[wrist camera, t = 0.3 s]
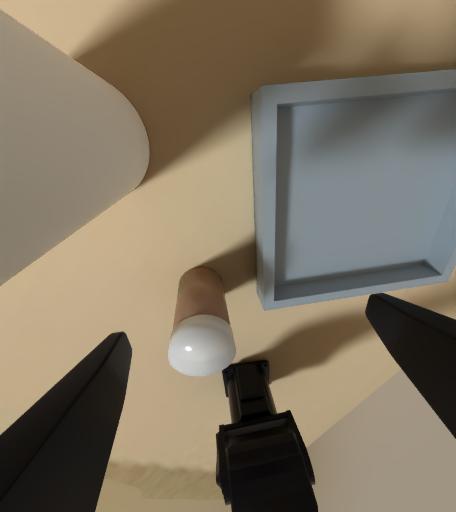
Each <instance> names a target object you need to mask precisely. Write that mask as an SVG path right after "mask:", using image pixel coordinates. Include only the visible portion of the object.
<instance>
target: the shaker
mask: <svg viewBox="0 0 456 512" xmlns="http://www.w3.org/2000/svg"><path fill="white" fill-rule="evenodd" d="M235 354H236V348H235V342H234V337H233V332H232V329H231V327H230V322H229V316H228V311H227V305H226V299H225V294H224V288H223V283H222V279H221V277H220V275H219V274H218V273H217V272H216V271H214V270H213V269H210V268H207V267H196V268H193V269H190V270H188V271H187V272H185V273H184V274H183V276H182V277H181V279H180V281H179V288H178V295H177V303H176V310H175V318H174V325H173V331H172V333H171V337H170V344H169V352H168V359H169V362H170V364H171V366H172V367H173V368H174V369H176V370H177V371H179V372H180V373H183V374H186V375H190V376H208V375H212V374H215V373H218V372H220V371H222V370H223V369H225V368H226V367H228V366H229V365H230V364H231V362H232V361H233V359H234V357H235Z"/></svg>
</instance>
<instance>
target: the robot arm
mask: <svg viewBox="0 0 456 512" xmlns="http://www.w3.org/2000/svg"><path fill="white" fill-rule="evenodd" d="M365 313H366V317H367V319H368V320H369V322H370V323H371V325H372V326H373V328H374V330H375V331H376V333H377V334H378V336H379V337H380V339H381V340H382V342H383V344H384V345H385V347H386V348H387V350H388V351H389V353H390V354H391V356H392V357H393V358H394V360H395V361H396V362H397V364H398V365H399V366H400V367H401V369H402V370H403V371H404V373H405V374H406V375H407V377H408V378H409V379H410V380H411V382H412V383H413V384H414V386H415V387H416V388H417V389H418V391H419V392H420V393H421V395H422V396H423V397H424V398H425V400H426V401H427V402H428V404H429V405H430V406H431V408H432V409H433V410H434V411H435V413H436V414H437V415H438V417H439V418H440V419H441V420H442V422H443V423H444V424H445V426H446V427H447V428H448V429H449V431H450V432H451V433H452V435H453V436H454V437H455V439H456V320H455V319H452V318H450V317H447V316H444V315H442V314H439V313H436V312H433V311H431V310H428V309H425V308H423V307H420V306H417V305H414V304H412V303H409V302H406V301H404V300H401V299H398V298H395V297H393V296H390V295H387V294H385V293H376V294H372V295H370V296H369V299H368V303H367V307H366V311H365ZM131 358H132V348H131V345H130V343H129V340H128V338H127V335H126V333H125V332H116V333H112V334H110V335H109V336H108V337H107V338H106V339H104V340H103V341H102V342H101V343H100V344H99V345H98V346H97V347H96V348H95V349H94V350H92V351H91V352H90V353H89V354H88V355H87V356H86V357H85V358H84V359H83V360H82V361H81V362H79V363H78V364H77V365H76V366H75V367H74V368H73V369H72V370H71V371H70V372H69V373H67V374H66V375H65V376H64V377H63V378H62V379H61V380H60V381H59V382H58V383H57V384H55V385H54V386H53V387H52V388H51V389H50V390H49V391H48V392H47V393H46V394H45V395H43V396H42V397H41V398H40V399H39V400H38V401H37V402H36V403H35V404H34V405H33V406H32V407H30V408H29V409H28V410H27V411H26V412H25V413H24V414H23V415H22V416H21V417H20V418H18V419H17V420H16V421H15V422H14V423H13V424H12V425H11V426H10V427H9V428H8V429H6V430H5V431H4V432H3V433H2V434H1V435H0V512H95V510H96V506H97V502H98V498H99V495H100V491H101V487H102V483H103V479H104V476H105V472H106V469H107V465H108V461H109V457H110V454H111V450H112V446H113V442H114V439H115V435H116V431H117V427H118V424H119V420H120V416H121V412H122V408H123V404H124V400H125V395H126V389H127V383H128V376H129V370H130V364H131ZM222 374H223V380H224V386H225V393H226V397H229V405H230V413H231V421H232V424H228V425H224V424H223V425H219V432H218V433H217V434H216V442H217V463H216V483H217V485H218V486H219V487H220V488H221V489H222V494H223V495H224V500H225V504H226V505H230V504H231V508H232V512H318V506H317V502H316V499H315V495H314V492H313V489H312V485H314V484H315V477H314V473H313V469H312V465H311V462H310V458H309V456H308V452H307V449H306V447H305V444H304V442H303V439H302V437H301V435H300V432H299V430H298V428H297V425H296V423H295V420H294V418H293V416H292V413H291V411H290V410H287V411H286V412H283V413H278V414H277V411H276V408H275V404H274V401H273V397H272V394H271V391H270V387H269V363H268V361H267V360H264V361H258V362H252V363H246V364H241V365H235V366H229V367H226V368H225V369H223V370H222Z"/></svg>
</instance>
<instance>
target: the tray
mask: <svg viewBox="0 0 456 512" xmlns="http://www.w3.org/2000/svg"><path fill="white" fill-rule="evenodd" d="M251 123H252V154H253V186H254V218H255V249H256V281H257V294H258V297H259V299H260V302H261V304H262V307H263V309H264V311H265V310H272V309H278V308H284V307H291V306H297V305H303V304H310V303H316V302H322V301H329V300H335V299H341V298H348V297H354V296H360V295H367V294H373V293H379V292H386V291H392V290H399V289H405V288H411V287H418V286H424V285H430V284H437V283H443V282H448V280H449V278H450V276H451V274H452V272H453V269H454V267H455V265H456V69H450V70H438V71H427V72H415V73H403V74H391V75H379V76H368V77H356V78H344V79H332V80H320V81H309V82H297V83H285V84H273V85H261V86H260V87H259V88H258V89H257V90H256V91H255V92H254V93H253V94H252V95H251Z"/></svg>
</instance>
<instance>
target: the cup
mask: <svg viewBox="0 0 456 512" xmlns="http://www.w3.org/2000/svg"><path fill="white" fill-rule="evenodd" d="M149 157H150V149H149V141H148V136H147V133H146V130H145V127H144V125H143V122H142V120H141V118H140V116H139V114H138V113H137V111H136V110H135V108H134V107H133V106H132V104H131V103H130V102H129V101H128V99H127V98H126V97H125V96H124V95H123V94H122V93H121V92H120V91H118V90H117V89H116V88H115V87H114V86H112V85H111V84H109V83H108V82H106V81H105V80H103V79H102V78H100V77H99V76H98V75H96V74H95V73H93V72H92V71H90V70H89V69H87V68H86V67H84V66H83V65H81V64H80V63H78V62H77V61H75V60H74V59H73V58H71V57H70V56H68V55H67V54H65V53H64V52H62V51H61V50H59V49H58V48H56V47H55V46H53V45H52V44H51V43H49V42H48V41H46V40H45V39H43V38H42V37H40V36H39V35H37V34H36V33H34V32H33V31H31V30H30V29H28V28H27V27H26V26H24V25H23V24H21V23H20V22H18V21H17V20H15V19H14V18H12V17H11V16H9V15H8V14H6V13H5V12H4V11H2V10H1V9H0V286H1V285H2V284H4V283H5V282H6V281H8V280H9V279H10V278H12V277H13V276H15V275H16V274H17V273H19V272H20V271H22V270H23V269H24V268H26V267H27V266H29V265H30V264H31V263H33V262H34V261H35V260H37V259H38V258H40V257H41V256H42V255H44V254H45V253H47V252H48V251H49V250H51V249H52V248H54V247H55V246H56V245H58V244H59V243H60V242H62V241H63V240H65V239H66V238H67V237H69V236H70V235H72V234H73V233H74V232H76V231H77V230H79V229H80V228H81V227H83V226H84V225H85V224H87V223H88V222H90V221H91V220H92V219H94V218H95V217H97V216H98V215H99V214H101V213H102V212H104V211H105V210H106V209H108V208H109V207H111V206H112V205H113V204H115V203H116V202H117V201H119V200H120V199H122V198H123V197H124V196H126V195H127V194H129V193H130V192H131V191H133V190H134V189H135V188H136V187H137V186H138V185H139V184H140V182H141V181H142V179H143V178H144V176H145V174H146V171H147V168H148V164H149Z"/></svg>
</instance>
